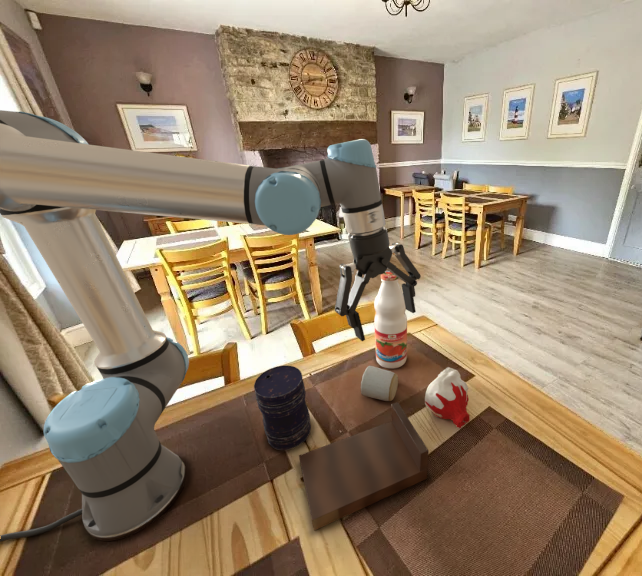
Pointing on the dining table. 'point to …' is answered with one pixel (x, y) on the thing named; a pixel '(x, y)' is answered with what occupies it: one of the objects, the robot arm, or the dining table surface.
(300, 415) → the storage jar
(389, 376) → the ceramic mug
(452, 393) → the white red rounded piece
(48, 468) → the dining table surface
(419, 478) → the dark wooden tray
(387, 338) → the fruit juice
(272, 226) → the robot arm
